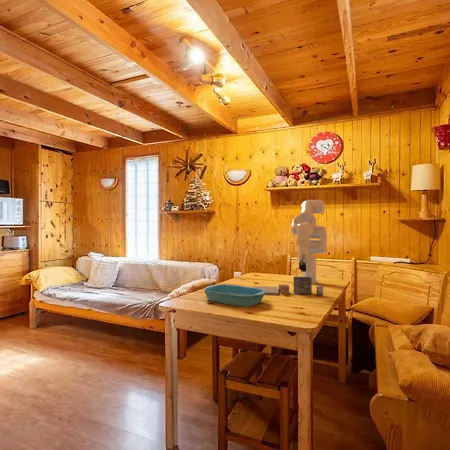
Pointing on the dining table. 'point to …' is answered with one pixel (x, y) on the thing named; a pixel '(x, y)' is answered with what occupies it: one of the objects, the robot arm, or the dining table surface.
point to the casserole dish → (234, 294)
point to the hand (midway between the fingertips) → (302, 270)
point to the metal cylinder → (319, 290)
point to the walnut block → (284, 289)
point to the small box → (303, 285)
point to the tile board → (269, 290)
